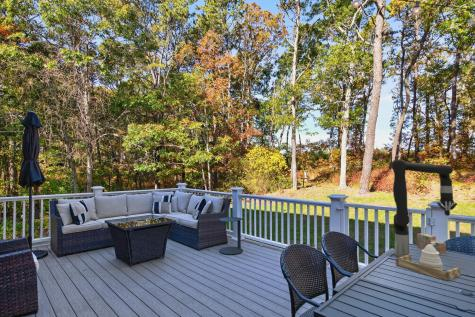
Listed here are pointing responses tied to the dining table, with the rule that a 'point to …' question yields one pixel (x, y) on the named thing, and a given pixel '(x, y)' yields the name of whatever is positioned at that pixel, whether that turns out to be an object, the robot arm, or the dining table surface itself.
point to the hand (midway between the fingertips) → (447, 215)
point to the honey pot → (431, 257)
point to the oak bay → (427, 269)
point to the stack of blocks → (427, 239)
